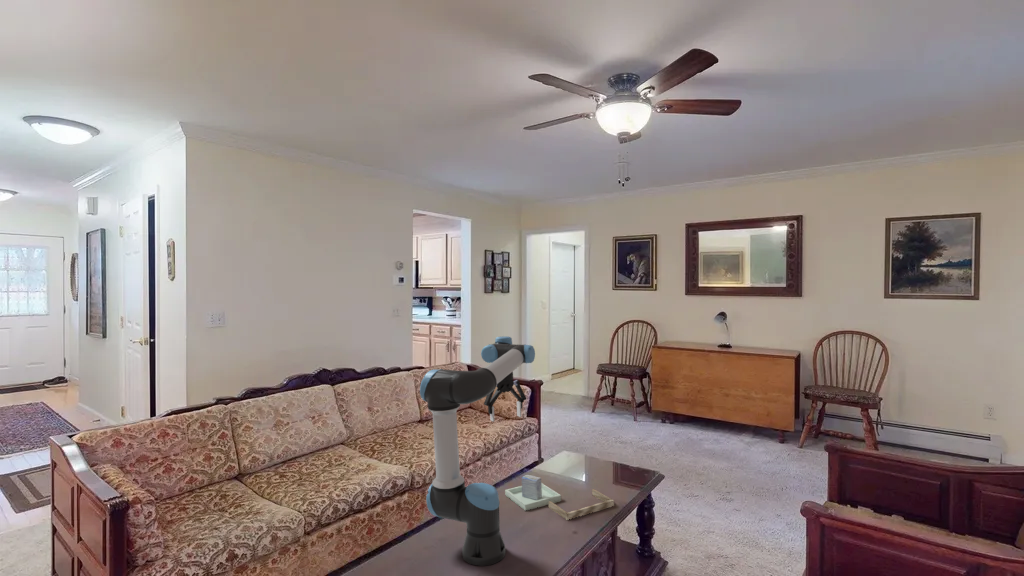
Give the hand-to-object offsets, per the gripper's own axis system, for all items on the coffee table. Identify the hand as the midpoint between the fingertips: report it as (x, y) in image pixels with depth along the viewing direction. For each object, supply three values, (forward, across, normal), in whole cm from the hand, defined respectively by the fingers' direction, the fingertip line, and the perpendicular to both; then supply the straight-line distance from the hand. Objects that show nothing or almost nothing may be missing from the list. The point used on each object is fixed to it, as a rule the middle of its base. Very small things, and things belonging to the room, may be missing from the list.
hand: (505, 418), depth 222 cm
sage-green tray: (+35, -8, +8) cm, 36 cm away
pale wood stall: (+35, -21, +27) cm, 49 cm away
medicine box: (+34, -8, +8) cm, 36 cm away
